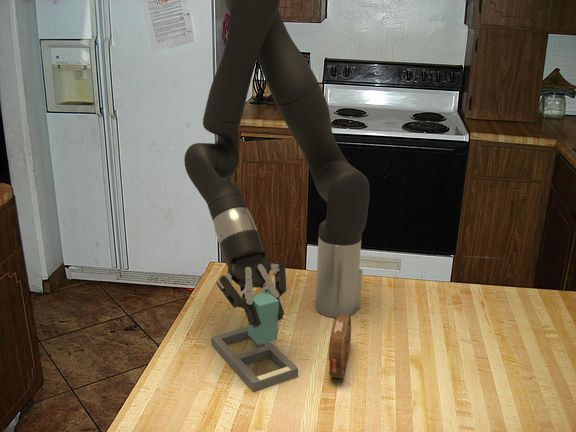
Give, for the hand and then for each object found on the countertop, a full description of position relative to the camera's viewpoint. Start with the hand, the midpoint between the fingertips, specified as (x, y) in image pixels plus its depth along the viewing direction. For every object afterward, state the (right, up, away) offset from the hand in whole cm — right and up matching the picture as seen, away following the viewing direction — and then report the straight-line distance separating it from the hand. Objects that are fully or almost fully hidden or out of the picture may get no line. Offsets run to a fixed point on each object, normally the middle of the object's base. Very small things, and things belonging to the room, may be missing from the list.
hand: (268, 322), depth 114 cm
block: (-1, -3, +3) cm, 5 cm away
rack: (-3, -9, +9) cm, 13 cm away
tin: (+13, -10, +9) cm, 19 cm away
